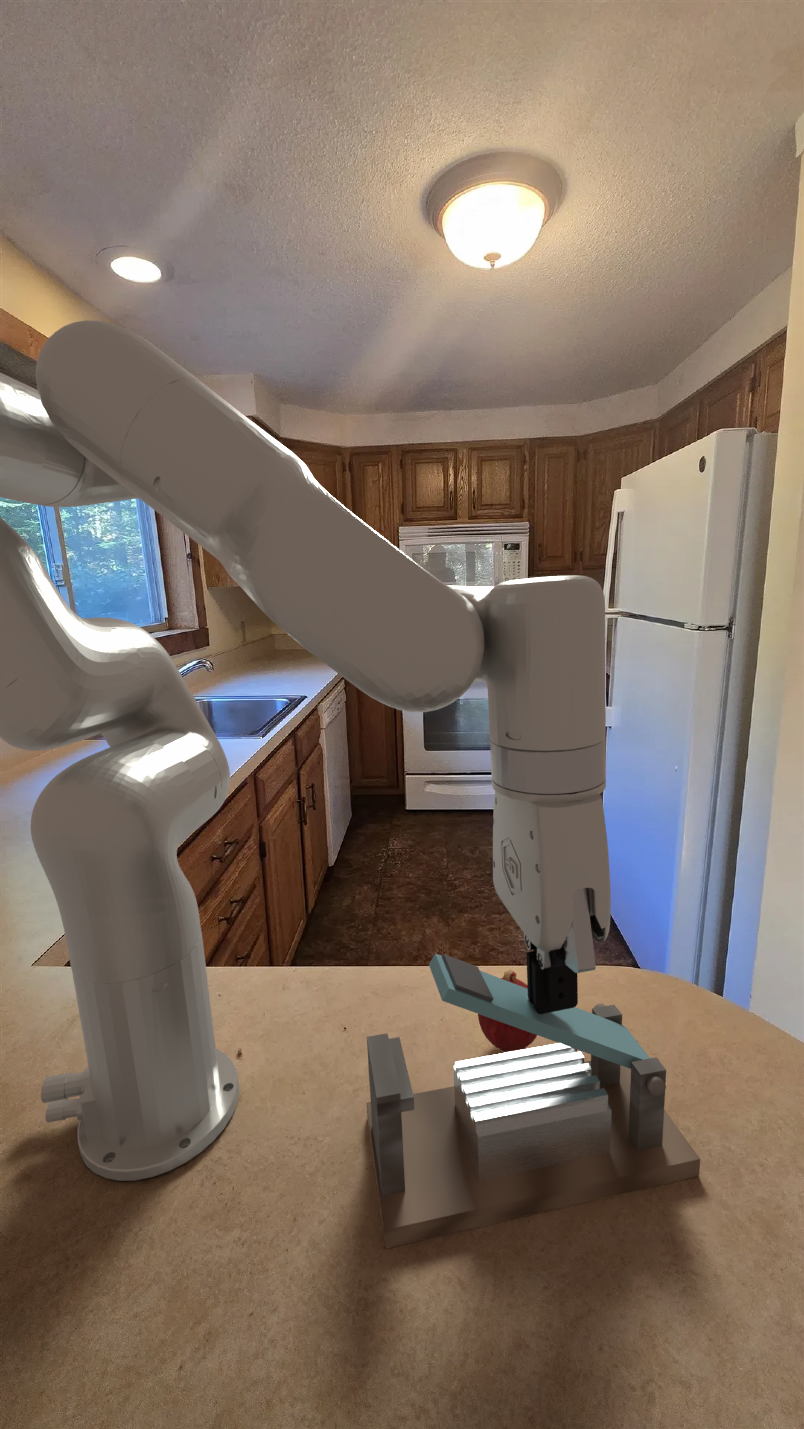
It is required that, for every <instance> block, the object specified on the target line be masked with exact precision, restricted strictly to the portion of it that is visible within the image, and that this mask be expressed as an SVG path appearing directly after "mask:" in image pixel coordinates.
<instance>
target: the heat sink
mask: <svg viewBox="0 0 804 1429" xmlns="http://www.w3.org/2000/svg"><path fill="white" fill-rule="evenodd" d="M584 1062H585V1056H584V1055H583V1053H582V1051H578V1050H577V1049H574V1048H572V1047H569V1046H566V1045H563V1044H560V1043H558V1042H556V1043H553V1044H548V1045H543V1046H536V1047H530V1048H525V1049H523V1050H519V1051H513V1052H507V1051H506V1052H503V1053H498V1054H492V1055H485V1056H480V1057H475V1058H470V1059H464V1060H458V1061H455V1062H454V1065H453V1085H454V1095H455V1107H456V1111H457V1114H458V1117H459V1120H460V1123H461V1126H462V1130H463V1133H464V1136H465V1139H466V1142H467V1145H468V1148H469V1152H470V1155H471V1158H472V1161H473V1164H474V1167H475V1171H476V1174H477V1177H478V1180H479V1181H482V1180H487V1179H491V1178H496V1177H501V1176H505V1175H510V1174H514V1173H519V1172H524V1171H528V1170H533V1169H537V1168H542V1167H547V1166H551V1165H556V1164H560V1163H565V1162H570V1161H574V1160H579V1159H583V1158H588V1157H593V1156H597V1155H602V1154H606V1153H610V1140H611V1108H610V1107H609V1105H608V1094H607V1092H606V1091H605V1089H604V1088H602V1089H600V1081H599V1080H598V1078H597V1076H596V1075H594V1076H592V1069H591V1067H590V1065H589V1064H588V1063H586V1064H584Z"/></svg>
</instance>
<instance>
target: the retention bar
mask: <svg viewBox="0 0 804 1429" xmlns="http://www.w3.org/2000/svg"><path fill="white" fill-rule="evenodd" d="M428 966H429V969H430V972H431V975H432V977H433V979H434V983H435V985H436V988H437V991H438V993H439V996H440V999H441V1001H442V1002H445V1003H448V1004H451V1005H452V1006H455V1007H459V1008H461V1009H463V1010H467V1011H469V1012H473V1013H475V1014H477V1015H478V1014H480V1015H483V1016H486V1017H488V1018H491V1019H494V1020H497V1021H500V1022H502V1023H505V1024H508V1025H511V1026H513V1027H516V1028H519V1029H522V1030H524V1031H527V1032H530V1033H533V1034H536V1035H537V1037H538V1036H539V1037H542V1038H544V1039H547V1040H549V1041H553V1042H555V1043H560V1044H563V1045H566V1046H569V1047H572V1048H574V1049H577V1051H579V1052H583V1053H585V1054H589V1055H590V1056H591V1055H594V1056H596V1057H599V1058H602V1059H605V1060H608V1061H610V1062H613V1063H616V1064H619V1065H621V1066H624V1067H627V1068H630V1069H631V1062H634V1061H639V1060H644V1059H649V1058H651V1057H650V1056H649V1055H648V1053H647V1052H646V1051H645V1050H644V1049H643V1047H642V1046H641V1044H640V1043H639V1042H638V1040H636V1038H635V1037H634V1035H633V1034H632V1033H631V1032H630V1030H629V1029H628V1028H627V1027H626V1025H623V1024H622V1025H621V1024H618V1023H616V1022H613V1021H610V1020H608V1019H605V1018H603V1017H600V1016H597V1015H595V1014H592V1012H589V1011H586V1010H584V1009H582V1008H579V1007H577V1006H576V1007H574V1008H570V1009H565V1010H560V1011H555V1012H550V1013H544V1014H538V1013H537V1012H536V1010H535V1008H534V1006H533V1004H532V1003H531V1002H530V1000H529V998H528V989H527V988H524V987H522V986H519V985H516V984H514V983H511V982H509V981H506V980H503V979H501V977H497V976H495V975H492V974H490V973H487V972H485V971H482V970H480V968H479V967H478V966H476V965H474V964H472V963H469V962H467V961H463V960H461V959H459V958H455V957H453V956H450V955H448V954H445V953H443V954H442V955H441V954H437V953H434V954H433V956H432V958H431V960H430V962H429V964H428Z"/></svg>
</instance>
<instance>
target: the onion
mask: <svg viewBox="0 0 804 1429" xmlns="http://www.w3.org/2000/svg"><path fill="white" fill-rule="evenodd" d="M500 978H501V977H500ZM501 979H503V980H506V981H509V982H511V983H514V984H516V985H519V986H522V987H524V988H527V989H528V987H527V983H525V982H524V981H522V980H520V979H519V978H517V973H516V972H515V971H514V970H512V969H508V970H507V971H504V974H503V976H502V978H501ZM477 1017H478V1018H477V1019H478V1024H479V1026H480V1029H481V1031H482V1033H483V1035H484V1037H485V1039H487V1040H488V1041H489V1042H490V1043H491V1045H492V1046H494V1047H495V1048H497V1049H499V1050H501V1051H503V1052H506V1053H507V1052H513V1051H519V1050H524V1049H527V1048H528V1047H529V1046H531V1044H532V1043H533V1042H534V1041H535V1040H536V1038H537V1037H538V1035H536V1034H533V1033H530V1032H527V1031H524V1030H522V1029H519V1028H516V1027H513V1026H511V1025H508V1024H505V1023H502V1022H500V1021H497V1020H494V1019H491V1018H488V1017H486V1016H483V1015H480V1014H477Z"/></svg>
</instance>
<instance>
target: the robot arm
mask: <svg viewBox="0 0 804 1429" xmlns="http://www.w3.org/2000/svg"><path fill="white" fill-rule="evenodd" d="M35 379H36V380H35V382H36V388H37V389H36V388H34V387H32V386H29V385H28V384H26V383H24V382H21V381H20V380H17V379H14V378H13V377H11V376H9V375H6V374H4V373H2V372H0V498H1V499H2V498H3V499H8V500H13V501H16V502H23V503H25V504H26V503H28V504H32V505H35V506H43V507H51V508H71V507H83V506H92V505H98V504H105V503H113V502H114V503H115V502H120V501H122V502H123V501H128V500H129V501H130V500H136V499H139V500H141V501H142V502H144V504H146V505H147V506H149V507H150V508H151V509H153V510H154V511H155V512H156V513H157V514H158V515H160V516H161V517H163V518H164V519H165V520H166V521H168V522H169V523H171V524H172V525H173V526H174V527H176V528H177V529H178V530H180V531H181V532H183V533H184V534H185V535H187V537H188V538H190V539H191V540H192V541H194V542H195V543H196V544H197V545H199V546H200V547H201V548H202V549H204V550H205V551H206V552H207V553H209V554H210V555H212V557H214V558H215V559H216V560H217V561H219V562H220V564H221V565H222V566H223V568H224V569H225V571H226V572H227V574H228V575H229V576H230V578H231V579H232V580H233V581H234V582H235V583H236V584H237V585H238V586H239V587H240V588H241V589H242V590H243V592H245V594H247V596H248V597H249V598H250V599H251V600H252V602H254V604H255V605H256V606H257V607H258V608H259V609H260V610H261V611H262V612H263V614H264V615H266V616H267V617H268V619H270V620H271V621H272V622H273V623H274V624H275V625H276V626H278V627H279V629H281V630H282V631H284V633H285V634H286V635H288V636H289V637H291V638H292V640H293V641H295V642H297V644H299V645H300V646H301V647H303V648H304V649H305V650H306V651H308V652H309V653H310V654H311V655H313V656H315V657H316V658H318V659H319V660H320V661H321V662H323V663H324V664H325V665H326V666H328V667H329V668H330V669H332V670H333V671H334V672H336V673H337V674H339V675H340V676H341V677H343V678H344V679H345V680H346V681H347V682H349V683H350V684H352V685H353V686H354V687H355V688H357V689H358V690H359V691H361V692H363V693H364V694H366V695H367V696H368V697H370V698H371V699H373V700H376V701H377V702H379V703H381V704H383V705H385V706H388V707H390V708H393V709H396V710H397V711H402V712H403V711H404V712H408V713H428V712H433V711H437V710H439V709H440V710H441V709H442V708H445V707H447V706H449V705H451V704H452V703H453V704H454V702H456V701H457V700H459V699H460V698H461V697H462V696H463V695H464V694H466V692H467V691H468V690H469V689H470V687H471V686H472V685H473V683H478V682H484V683H485V685H486V687H487V701H488V725H489V726H488V727H489V746H490V747H489V748H490V766H491V767H490V769H491V787H492V789H493V790H494V797H493V817H492V819H493V821H492V880H493V886H494V889H495V892H496V895H498V897H499V899H500V901H501V902H502V904H503V905H504V906H505V908H506V910H507V911H508V912H509V914H510V915H511V917H512V918H513V919H514V921H515V923H516V924H517V925H518V926H519V928H520V929H521V931H522V932H523V938H524V944H525V947H526V948H527V950H528V952H525V953H526V979H527V980H526V981H527V982H526V985H527V987H528V998H529V1000H530V1002H531V1003H532V1004H533V1006H534V1008H535V1010H536V1012H537V1013H538V1014H544V1013H550V1012H555V1011H560V1010H565V1009H570V1008H574V1007H576V1008H577V1006H578V1004H579V1003H578V1002H579V1000H578V998H579V996H578V995H579V993H578V992H579V990H578V989H579V988H578V984H579V983H578V974H580V973H586V972H593V971H595V970H596V968H597V965H596V964H597V963H596V956H595V949H594V947H595V946H594V940H595V941H596V942H599V943H604V942H605V941H606V940H607V938H608V936H609V932H610V925H611V912H612V911H611V910H612V909H611V907H612V906H611V904H612V903H611V902H612V900H611V899H612V898H611V895H612V894H611V874H610V873H611V872H610V857H609V846H608V837H607V836H608V835H607V834H608V833H607V826H606V819H605V817H606V816H605V810H604V803H603V798H602V795H601V793H603V792H604V791H605V790H606V786H607V779H606V777H607V775H606V774H607V771H606V770H607V753H606V750H607V748H606V747H607V746H606V744H607V742H606V740H607V739H606V732H607V731H606V729H607V728H606V727H607V726H606V723H607V722H606V720H607V719H606V718H607V717H606V712H607V710H606V602H605V601H606V600H605V599H606V598H605V593H604V591H603V589H602V586H601V585H600V583H599V582H598V581H597V580H595V579H594V578H592V577H590V576H589V577H588V576H586V575H576V574H575V575H573V574H572V575H571V574H570V575H556V576H555V575H553V576H552V575H551V576H540V577H539V576H538V577H537V576H536V577H529V578H527V577H526V578H520V579H519V578H517V579H510V580H507V581H502V582H500V583H498V584H496V585H494V586H470V585H469V586H467V585H451V584H445V583H444V582H443V581H442V580H440V579H439V578H437V577H436V576H435V575H433V573H430V572H429V571H428V570H427V569H425V568H424V567H423V566H421V565H420V564H419V563H417V562H416V561H415V560H414V559H413V558H411V557H410V556H408V555H407V554H406V553H405V552H403V551H402V550H400V549H399V548H398V547H397V546H395V545H394V544H393V543H391V542H390V541H389V540H388V539H387V538H385V537H384V536H382V534H380V533H379V532H378V531H376V530H375V529H373V527H371V526H369V525H368V524H367V523H366V522H365V521H363V520H362V519H361V518H360V517H358V516H357V515H356V514H355V513H353V512H352V511H351V510H350V509H348V508H347V507H346V506H345V505H344V504H342V503H341V502H340V501H339V500H337V498H335V497H334V496H333V495H331V494H330V493H329V491H327V490H326V489H325V488H324V487H323V486H322V485H321V484H320V483H319V482H318V480H316V478H315V477H314V475H313V474H312V472H311V471H310V468H309V467H308V466H307V464H306V463H305V462H304V461H303V460H301V459H300V458H299V456H297V455H296V454H295V452H293V451H292V450H290V449H289V448H287V447H286V446H285V445H283V444H282V443H281V442H280V441H278V440H277V439H275V437H273V436H271V434H269V433H268V432H267V431H265V429H263V428H261V427H260V426H259V425H257V424H256V423H255V422H254V421H252V420H251V419H249V417H247V416H245V415H244V414H243V413H242V412H240V410H238V409H237V408H235V407H234V406H233V405H232V404H230V403H229V402H227V400H225V399H224V398H222V396H220V395H218V393H216V392H215V391H214V390H212V389H211V388H209V387H208V386H207V385H206V384H204V383H203V382H202V381H201V380H200V379H199V378H197V377H196V376H195V375H193V374H192V373H190V372H189V371H188V370H186V369H185V368H184V367H182V365H181V364H179V363H177V362H176V361H175V360H174V359H173V358H171V357H170V356H168V355H167V354H166V353H165V352H163V351H162V350H160V349H159V348H158V347H157V346H156V345H154V344H153V343H152V342H151V341H149V340H148V339H146V338H144V337H143V336H141V335H139V334H137V333H135V332H134V331H132V330H130V329H127V328H125V327H123V326H120V325H117V324H115V323H111V322H108V321H102V320H85V319H84V320H79V321H74V322H71V323H68V324H66V325H63V326H62V327H60V328H59V329H58V330H56V331H55V332H53V333H52V335H50V336H49V337H48V338H47V339H46V341H45V342H44V344H43V345H42V347H41V350H40V351H39V353H38V357H37V360H36V366H35ZM99 735H101V736H102V737H103V738H104V740H105V741H106V743H107V744H108V746H109V747H108V748H104V749H103V750H100V751H98V752H95V753H93V754H91V755H88V756H86V757H83V758H81V759H80V760H77V761H76V762H74V763H72V764H71V765H69V766H68V767H66V768H64V769H63V770H61V771H60V772H59V773H58V774H56V775H55V776H54V777H53V778H52V779H51V780H50V781H49V782H48V783H47V784H46V786H44V788H43V789H42V791H41V792H40V794H39V795H38V797H37V799H36V801H35V804H34V805H33V809H32V813H31V819H30V836H31V839H32V840H31V841H32V843H33V848H34V851H35V853H36V856H37V858H38V860H39V862H40V865H41V867H42V869H43V871H44V874H45V876H46V878H47V880H48V883H49V885H50V887H51V890H52V893H53V895H54V899H55V901H56V905H57V908H58V911H59V914H60V915H59V916H60V917H61V922H62V926H63V930H64V931H63V932H64V936H65V941H66V947H67V951H68V952H67V953H68V958H69V959H68V960H69V962H70V968H71V973H72V978H73V984H74V989H75V995H76V996H75V997H76V1001H77V1007H78V1013H79V1019H80V1026H81V1030H82V1036H83V1042H84V1048H85V1053H86V1059H87V1065H88V1066H86V1068H85V1069H84V1071H82V1072H75V1073H72V1072H67V1073H61V1074H55V1075H54V1074H53V1075H50V1076H47V1077H45V1078H44V1080H43V1082H42V1085H41V1092H40V1099H41V1102H42V1103H43V1104H48V1105H47V1106H46V1108H45V1109H46V1110H45V1121H46V1123H54V1122H58V1121H59V1122H60V1121H65V1120H66V1119H71V1118H77V1120H78V1121H79V1122H78V1125H77V1144H78V1150H79V1155H80V1157H81V1159H82V1162H84V1164H85V1166H86V1167H87V1168H89V1169H90V1170H91V1172H92V1173H94V1174H96V1175H99V1176H101V1177H103V1178H105V1179H108V1180H113V1181H119V1182H122V1181H124V1182H125V1181H139V1180H143V1179H144V1180H145V1179H148V1178H153V1177H156V1176H159V1175H162V1174H164V1173H167V1172H170V1171H172V1170H175V1169H176V1168H178V1167H180V1166H182V1165H184V1164H185V1163H187V1162H188V1161H190V1160H193V1158H195V1157H196V1156H197V1155H199V1154H201V1153H202V1152H203V1151H204V1150H205V1149H206V1148H207V1147H209V1145H211V1144H212V1143H213V1142H214V1141H215V1140H216V1138H217V1137H218V1136H220V1134H221V1133H222V1131H223V1130H224V1129H225V1128H226V1126H227V1124H228V1123H229V1121H230V1120H231V1118H232V1116H233V1114H234V1112H235V1109H236V1107H237V1105H238V1100H239V1094H240V1086H239V1085H240V1084H239V1076H238V1070H237V1068H236V1065H235V1063H234V1062H233V1060H232V1059H231V1058H230V1057H229V1056H228V1055H227V1054H226V1053H224V1052H223V1051H221V1050H220V1049H218V1048H217V1047H216V1039H215V1038H216V1037H215V1032H214V1024H213V1023H214V1022H213V1015H212V1007H211V998H210V991H209V982H208V981H209V980H208V972H207V965H206V957H205V948H204V941H203V939H204V938H203V931H202V928H201V918H200V913H199V912H200V911H199V907H198V903H197V898H196V895H195V891H194V890H193V888H192V885H191V883H190V882H189V880H188V879H187V877H186V875H185V874H184V872H183V870H182V868H181V866H180V864H179V862H178V856H177V854H178V848H179V846H180V845H181V844H183V842H185V840H187V839H188V838H189V836H191V835H192V834H193V833H194V832H195V831H196V830H198V829H199V828H200V827H202V826H203V825H204V824H205V823H206V822H207V821H208V820H209V819H211V818H212V817H213V816H214V815H215V814H216V813H217V812H218V811H219V810H220V809H221V807H222V805H223V804H224V803H225V801H226V798H227V796H228V794H229V791H230V784H231V773H230V771H231V770H230V766H229V762H228V759H227V756H226V754H225V751H224V748H223V746H222V745H221V742H220V741H219V739H218V737H217V735H216V734H215V732H214V730H213V727H211V725H210V723H209V721H208V720H207V717H206V716H205V714H204V712H203V711H202V709H201V707H200V705H199V704H198V702H197V700H196V699H195V697H194V694H193V693H192V691H191V689H190V688H189V686H188V684H187V683H186V681H185V679H184V678H183V676H182V674H181V672H180V671H179V668H178V667H177V665H176V664H175V662H174V660H173V659H172V657H171V655H170V654H169V653H168V651H167V649H165V647H163V645H162V644H161V643H160V642H159V641H158V640H157V639H156V638H155V636H153V635H152V634H151V633H150V632H148V631H146V630H145V629H144V628H143V627H140V626H138V625H137V624H135V623H132V622H130V621H127V620H123V619H120V618H114V617H113V618H112V617H81V616H79V615H78V614H76V613H75V612H74V611H73V609H72V608H71V607H70V606H69V604H68V603H67V602H66V600H65V599H64V598H63V595H62V594H61V593H60V591H59V589H58V588H57V587H56V585H55V583H54V582H53V580H52V578H51V576H50V574H49V573H48V570H47V569H46V566H45V565H44V563H43V561H42V560H41V559H40V557H39V556H38V554H37V553H36V552H35V550H34V549H33V548H32V547H31V546H30V545H29V544H28V542H27V541H26V540H25V539H24V538H23V537H22V535H20V534H19V533H18V532H17V531H16V529H14V528H13V527H12V526H11V525H9V523H7V521H6V520H4V519H3V518H2V517H1V516H0V739H1V740H3V741H4V742H5V743H7V744H8V745H10V746H12V747H14V748H16V749H21V750H25V751H28V752H29V751H30V752H33V751H34V752H35V751H37V752H39V751H49V750H53V749H57V748H58V749H59V748H62V747H65V746H66V747H67V746H70V745H72V744H75V743H78V742H82V741H84V740H87V739H89V738H93V737H96V736H99ZM593 939H594V940H593ZM74 1097H79V1098H74ZM69 1098H74V1099H69Z"/></svg>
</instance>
